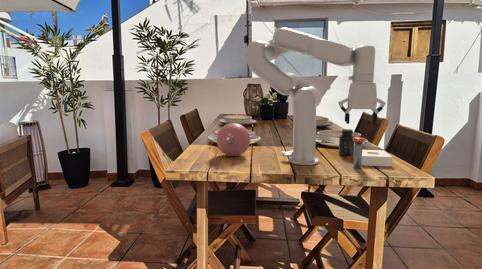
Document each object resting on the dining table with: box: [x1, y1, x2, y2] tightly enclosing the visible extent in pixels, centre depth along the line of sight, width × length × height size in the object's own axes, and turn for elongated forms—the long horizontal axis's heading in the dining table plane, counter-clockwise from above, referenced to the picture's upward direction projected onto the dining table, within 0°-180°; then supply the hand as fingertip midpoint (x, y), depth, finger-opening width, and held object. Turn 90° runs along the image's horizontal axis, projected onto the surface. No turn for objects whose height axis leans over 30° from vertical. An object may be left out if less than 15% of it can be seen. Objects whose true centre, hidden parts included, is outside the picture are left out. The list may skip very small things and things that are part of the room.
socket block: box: [361, 149, 393, 168], centre depth 134 cm, size 12×12×4 cm
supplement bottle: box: [338, 128, 355, 157], centre depth 147 cm, size 7×7×12 cm
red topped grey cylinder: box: [352, 136, 366, 170], centre depth 125 cm, size 5×5×12 cm
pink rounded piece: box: [216, 122, 251, 157], centre depth 143 cm, size 15×20×15 cm
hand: (360, 123), depth 123 cm, fingers open, 9 cm apart
